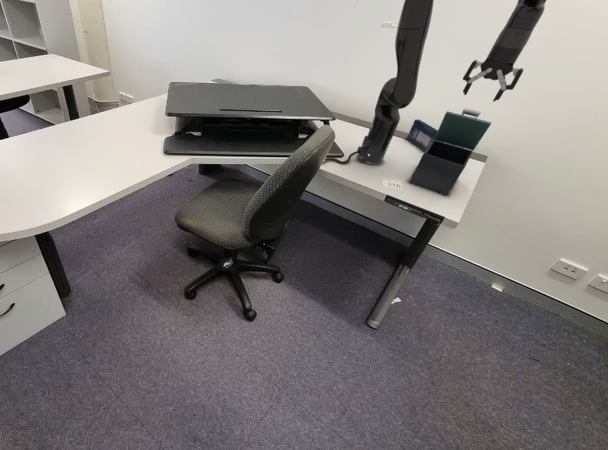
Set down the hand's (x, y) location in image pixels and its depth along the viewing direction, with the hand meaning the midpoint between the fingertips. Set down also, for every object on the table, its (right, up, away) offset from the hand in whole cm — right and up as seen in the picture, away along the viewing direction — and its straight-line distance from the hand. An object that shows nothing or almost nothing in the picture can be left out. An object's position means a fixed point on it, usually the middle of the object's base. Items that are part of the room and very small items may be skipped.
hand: (479, 97), depth 111 cm
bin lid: (0, -9, +8) cm, 13 cm away
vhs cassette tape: (+7, -8, +41) cm, 42 cm away
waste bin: (-2, -26, +20) cm, 33 cm away
